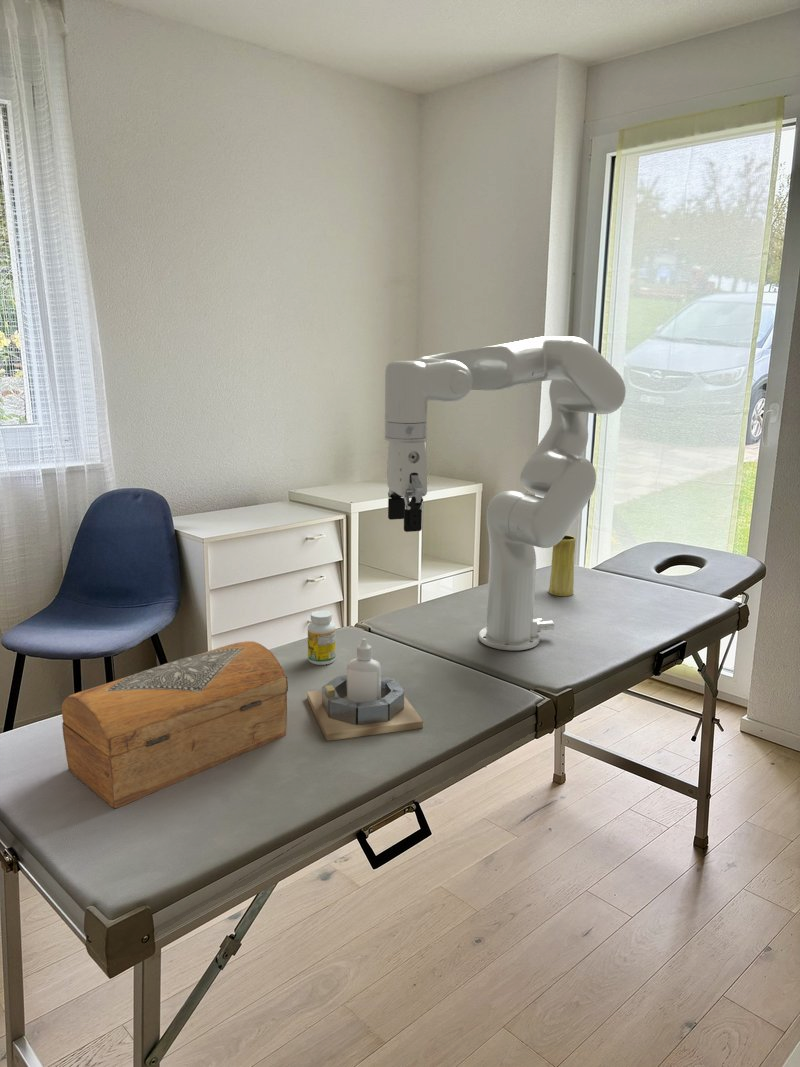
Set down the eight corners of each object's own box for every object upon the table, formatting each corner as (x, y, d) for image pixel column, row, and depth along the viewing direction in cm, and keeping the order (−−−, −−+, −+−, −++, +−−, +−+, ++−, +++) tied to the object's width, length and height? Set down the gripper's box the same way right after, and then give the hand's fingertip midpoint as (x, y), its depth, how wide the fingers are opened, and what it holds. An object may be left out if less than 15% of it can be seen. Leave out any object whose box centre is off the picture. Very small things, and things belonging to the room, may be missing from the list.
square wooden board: (394, 687, 149) (394, 681, 148) (422, 728, 134) (422, 721, 134) (307, 698, 144) (307, 691, 144) (326, 741, 129) (326, 734, 129)
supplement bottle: (338, 664, 159) (337, 617, 157) (310, 667, 157) (310, 619, 155) (332, 653, 164) (331, 608, 162) (305, 656, 162) (304, 610, 160)
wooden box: (232, 704, 142) (229, 628, 139) (291, 737, 131) (289, 656, 127) (60, 766, 121) (52, 679, 118) (113, 812, 110) (106, 717, 107)
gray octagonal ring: (388, 685, 147) (389, 665, 146) (411, 718, 135) (411, 695, 134) (317, 694, 143) (316, 673, 142) (333, 728, 131) (333, 705, 130)
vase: (575, 596, 201) (579, 540, 197) (550, 596, 201) (554, 540, 197) (570, 589, 207) (574, 534, 203) (546, 588, 207) (549, 533, 203)
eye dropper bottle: (367, 714, 136) (367, 647, 133) (343, 704, 139) (342, 638, 136) (384, 706, 139) (385, 639, 136) (361, 696, 142) (361, 631, 139)
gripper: (442, 437, 139) (439, 534, 144) (410, 425, 155) (409, 513, 160) (400, 438, 137) (398, 537, 141) (372, 426, 153) (372, 515, 157)
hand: (404, 524), depth 150 cm, fingers open, 9 cm apart
